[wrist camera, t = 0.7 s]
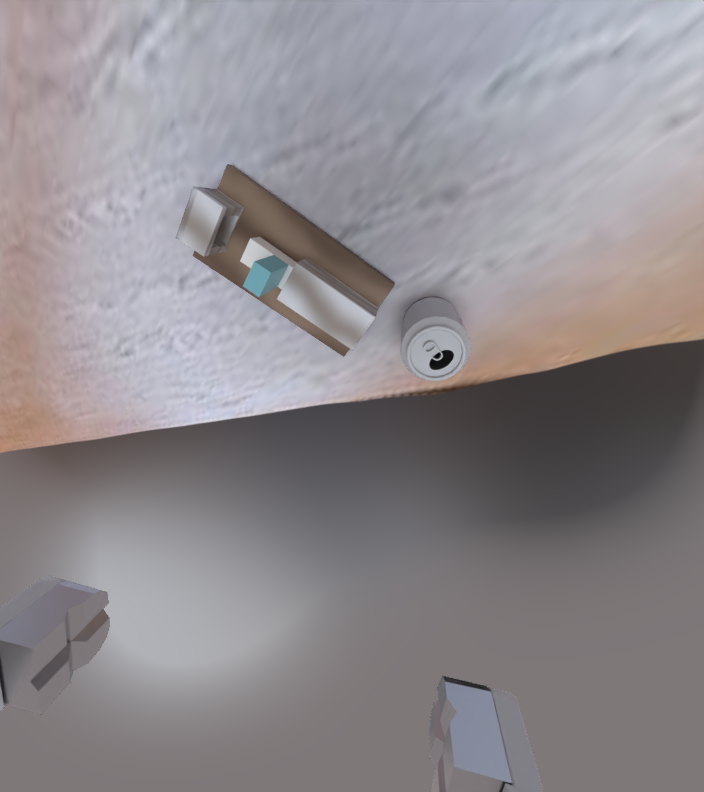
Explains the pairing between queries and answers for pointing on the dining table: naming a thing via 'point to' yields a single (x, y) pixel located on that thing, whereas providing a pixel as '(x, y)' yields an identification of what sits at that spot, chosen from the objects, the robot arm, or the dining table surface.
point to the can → (434, 340)
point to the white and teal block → (265, 266)
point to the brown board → (298, 239)
